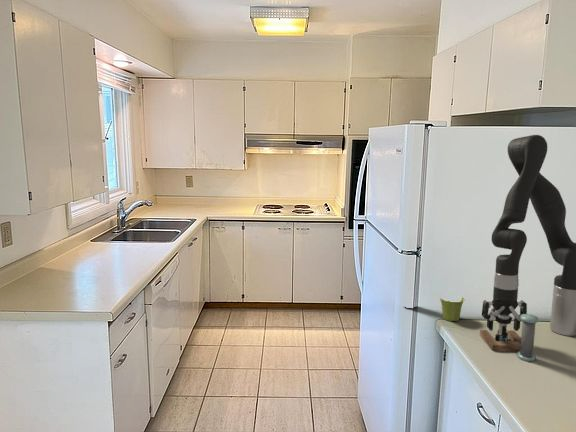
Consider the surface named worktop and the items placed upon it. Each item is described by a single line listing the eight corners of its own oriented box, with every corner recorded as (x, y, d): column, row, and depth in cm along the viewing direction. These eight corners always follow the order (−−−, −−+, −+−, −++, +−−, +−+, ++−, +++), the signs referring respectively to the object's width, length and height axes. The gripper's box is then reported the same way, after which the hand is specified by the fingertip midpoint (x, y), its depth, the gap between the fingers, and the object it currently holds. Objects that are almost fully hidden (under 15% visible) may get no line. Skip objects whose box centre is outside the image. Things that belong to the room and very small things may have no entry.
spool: (530, 354, 143) (533, 314, 141) (537, 361, 138) (541, 320, 136) (514, 354, 144) (517, 313, 141) (521, 361, 139) (524, 320, 136)
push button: (500, 335, 157) (502, 309, 155) (515, 341, 153) (517, 314, 151) (490, 340, 153) (492, 314, 152) (505, 346, 149) (507, 318, 147)
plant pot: (434, 318, 173) (435, 298, 172) (444, 312, 180) (445, 292, 178) (457, 325, 167) (458, 303, 165) (467, 318, 173) (468, 297, 172)
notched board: (513, 335, 157) (514, 330, 157) (529, 351, 145) (529, 345, 145) (479, 335, 158) (479, 329, 158) (492, 350, 146) (492, 345, 146)
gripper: (522, 282, 153) (519, 325, 155) (480, 281, 154) (478, 325, 156) (532, 289, 145) (529, 334, 148) (488, 289, 146) (486, 334, 149)
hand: (503, 329), depth 152 cm, fingers open, 8 cm apart
